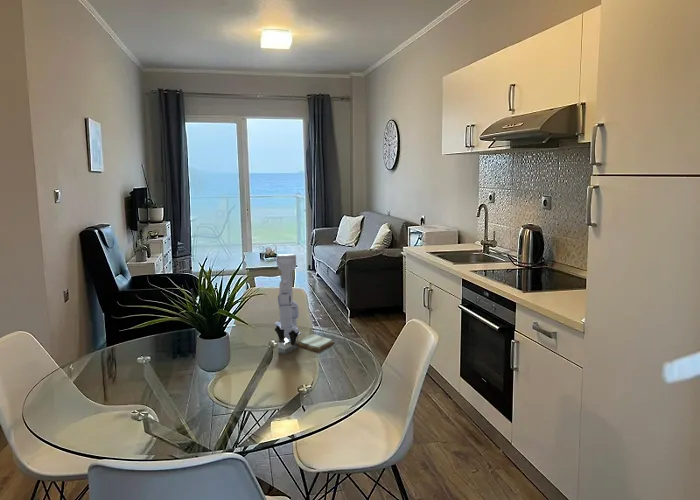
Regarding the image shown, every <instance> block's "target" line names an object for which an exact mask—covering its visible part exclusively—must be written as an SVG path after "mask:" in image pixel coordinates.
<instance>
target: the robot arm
mask: <svg viewBox="0 0 700 500" xmlns="http://www.w3.org/2000/svg"><path fill="white" fill-rule="evenodd" d="M276 266H277V268H278V270H280V271H281V281H280V282H279V288H278V289H279V293H278V296H277V303H278V309H279V320H278V321H276V322H274V331H275V333H276V335H277V337H278V339H279V340H278V341H280V340H282V339H284V338H286V337H288V336H290V339H291V345H294V344H295V342H296V338H297V339H298V336H299V335H301V332H300V328H299V327H298V325H297V324H298V323H297V322H298V321H297V319H299V317H300V313H299V312H300V311H299V304H298V303H297V302H296V301H294V297H293V296H294V295H293V293H294V292H293V271H294V270H295V269H297V255H296V254H295V253H291V254H290V253H288V254H287V253H286V254H284V253H283V254H276Z"/></svg>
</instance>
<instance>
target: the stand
mask: <svg viewBox="0 0 700 500" xmlns="http://www.w3.org/2000/svg"><path fill="white" fill-rule="evenodd" d="M334 343H335V340H333V339H331V338H328V337H325V336H322V335H321V336H320V335H318V334H316V333H315V334H314V333H312V334H309V335H307V336H305V337H304V338H301V339H300V340H299V341H298V342H297V347H300V348H304V349H307V350H309V351H313V352H316V353H319V352H321V351H323V350H324V349H326V348H328V347H329V346H331V345H332V344H334Z"/></svg>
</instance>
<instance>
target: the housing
mask: <svg viewBox="0 0 700 500" xmlns="http://www.w3.org/2000/svg"><path fill="white" fill-rule="evenodd" d="M297 344H298V337H297V338H296V342H295V344H294V345H291V339H290V336H288V337H284V339H282V340H278V341H277V351H278V354H281V355H287V354H290V353H291V352H293V351H295V350H297V349H298V346H297Z"/></svg>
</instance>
